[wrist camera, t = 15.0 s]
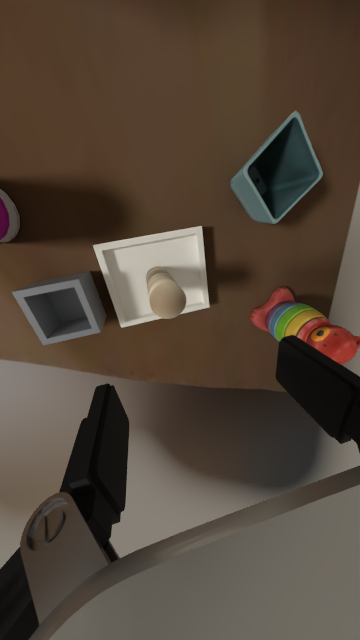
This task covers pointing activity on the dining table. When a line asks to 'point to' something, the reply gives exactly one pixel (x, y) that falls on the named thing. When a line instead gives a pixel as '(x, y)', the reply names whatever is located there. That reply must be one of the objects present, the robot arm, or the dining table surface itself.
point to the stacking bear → (304, 326)
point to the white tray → (145, 253)
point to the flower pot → (278, 173)
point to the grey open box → (62, 307)
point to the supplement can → (8, 218)
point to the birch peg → (164, 293)
